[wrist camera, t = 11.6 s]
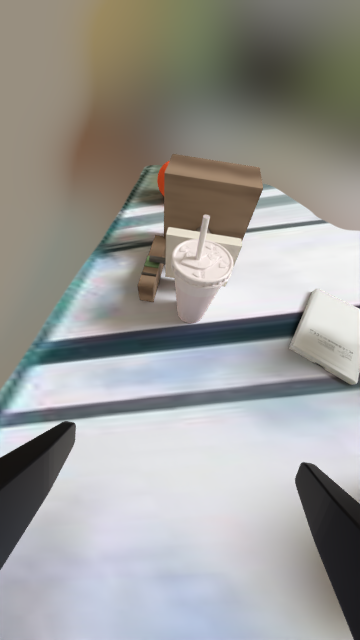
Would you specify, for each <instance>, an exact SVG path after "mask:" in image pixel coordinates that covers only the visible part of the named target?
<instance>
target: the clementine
mask: <svg viewBox="0 0 360 640" xmlns="http://www.w3.org/2000/svg"><path fill="white" fill-rule="evenodd" d="M168 164H169V161H168V162H166V163H165V164H164V165H163V166H162V167H161V169H160V171H159V174H158V187H159V190H160V192H161V194H162V195H163V196H164V173H165V171H166V168H167V166H168Z"/></svg>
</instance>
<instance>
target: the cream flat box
mask: <svg viewBox="0 0 360 640" xmlns="http://www.w3.org/2000/svg"><path fill="white" fill-rule="evenodd" d="M199 236H200V232H197V231H191V230H185V229H179V228H172V227H168V230H167V233H166V258H164V257H158V256H151V255H150V257H149V262H155V263H161V264H166V267H165V277H170V278H174V273H173V272H172V268H171V258H172V252H173V250H174V249H175V247H176V246H177V245H179V244H180V243H182V242H184V241H187V240H191V239H199ZM205 240H209V241H213V242H215V243H218V244H219V245H221V246H223V247H224V248H225V249H226V250H227V251H228V252H229V253H230V255H231V256H232V259H233V263H234V264H235V262H236V259H237V257H238V255H239V252H240V250H241V247H242V239H240V238H234V237H228V236H222V235H216V234H210V233H206V238H205ZM233 267H234V265H233ZM226 284H227V282H225V283H224V284H223V285H221V286H226Z"/></svg>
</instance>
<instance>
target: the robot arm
mask: <svg viewBox="0 0 360 640" xmlns="http://www.w3.org/2000/svg"><path fill="white" fill-rule="evenodd" d="M75 430H76V425H75V423H73V422H68V421H64V422H62V423H60V424H59V425H57V426H55V427H53V428H52V429H50V430H48V431H46V432H45V433H43V434H41V435H39V436H38V437H36V438H34V439H32V440H31V441H29V442H27V443H25V444H24V445H22V446H20V447H18V448H17V449H15V450H13V451H11V452H10V453H8V454H6V455H4V456H3V457H1V458H0V570H1V568H2V567H3V565H4V563H5V562H6V560H7V559H8V557H9V555H10V554H11V552H12V551H13V549H14V547H15V546H16V544H17V543H18V541H19V539H20V538H21V536H22V535H23V533H24V532H25V530H26V528H27V527H28V525H29V524H30V522H31V520H32V519H33V517H34V516H35V514H36V512H37V511H38V509H39V508H40V506H41V504H42V503H43V501H44V500H45V498H46V496H47V495H48V493H49V491H50V489H51V488H52V486H53V484H54V482H55V480H56V478H57V476H58V474H59V472H60V470H61V469H62V467H63V465H64V463H65V461H66V459H67V457H68V455H69V453H70V451H71V449H72V447H73V445H74V442H75ZM295 483H296V487H297V490H298V494H299V497H300V500H301V503H302V506H303V509H304V512H305V515H306V518H307V521H308V524H309V527H310V530H311V533H312V536H313V539H314V542H315V544H316V547H317V549H318V552H319V554H320V557H321V559H322V562H323V564H324V567H325V569H326V572H327V574H328V577H329V579H330V581H331V584H332V586H333V589H334V591H335V594H336V596H337V599H338V601H339V604H340V606H341V609H342V611H343V614H344V616H345V619H346V621H347V624H348V626H349V629H350V631H351V633H352V636H353V638H354V640H360V504H359V503H358V502H357V501H356V500H355V499H353V498H352V497H351V496H350V495H349V494H348V493H347V492H345V491H344V490H343V489H342V488H341V487H340V486H338V485H337V484H336V483H335V482H334V481H333V480H332V479H330V478H329V477H328V476H327V475H326V474H325V473H323V472H322V471H321V470H320V469H319V468H318V467H317V466H315V465H314V464H311V463H305V462H302V463H301V464H300V467H299V470H298V472H297V475H296V478H295Z"/></svg>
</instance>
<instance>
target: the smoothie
mask: <svg viewBox="0 0 360 640" xmlns="http://www.w3.org/2000/svg"><path fill="white" fill-rule="evenodd" d="M209 220H210V216H209V215H204V216H203V220H202V225H201V231H200V236H199V239H191V240H187V241H184V242H182V243H180V244H179V245H177V246H176V247H175V249H174V250H173V252H172V258H171V268H172V272H173V273H174V278H175V288H176V300H177V312H178V316H179V317H180V319H181V320H183V321H184V322H187V323H196V322H198V321H200V320H201V319H202V317H203V315H204V314H205V312H206V310H207V309H208V307H209V305H210V304H211V302H212V300H213V299H214V297H215V295H216V294H217V292H218V290H219V289H220V287H221V285H223V284H224V283H225V282H227V281H228V279H229V278H230V276H231V272H232V270H233V265H234V263H233V259H232V256H231V255H230V253H229V252H228V251H227V250H226V249H225V248H224V247H223V246H221V245H219V244H218V243H215V242H213V241H209V240H205V238H206V233H207V229H208V224H209Z"/></svg>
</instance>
